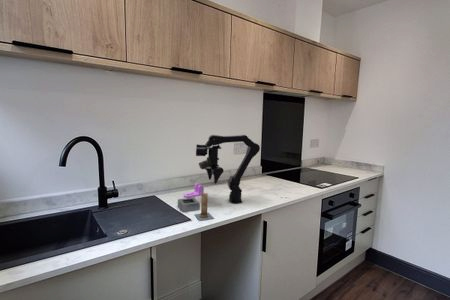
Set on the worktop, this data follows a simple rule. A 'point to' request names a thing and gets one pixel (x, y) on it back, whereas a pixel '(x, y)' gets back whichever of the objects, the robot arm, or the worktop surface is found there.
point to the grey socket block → (188, 204)
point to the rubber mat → (203, 218)
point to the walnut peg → (204, 205)
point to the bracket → (195, 191)
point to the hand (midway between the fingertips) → (212, 181)
